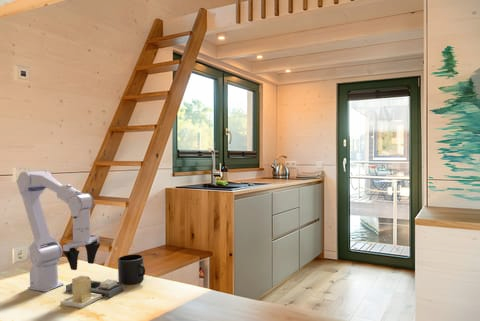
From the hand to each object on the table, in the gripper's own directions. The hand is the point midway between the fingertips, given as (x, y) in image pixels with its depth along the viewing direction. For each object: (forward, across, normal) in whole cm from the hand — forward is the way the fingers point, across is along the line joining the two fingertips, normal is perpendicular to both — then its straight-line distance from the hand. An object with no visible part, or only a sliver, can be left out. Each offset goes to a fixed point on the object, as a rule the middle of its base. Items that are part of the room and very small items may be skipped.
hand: (82, 266), depth 129 cm
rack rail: (+10, +4, -2) cm, 11 cm away
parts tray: (+10, -5, -5) cm, 12 cm away
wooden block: (+9, -5, -5) cm, 12 cm away
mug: (+10, +17, -8) cm, 21 cm away
